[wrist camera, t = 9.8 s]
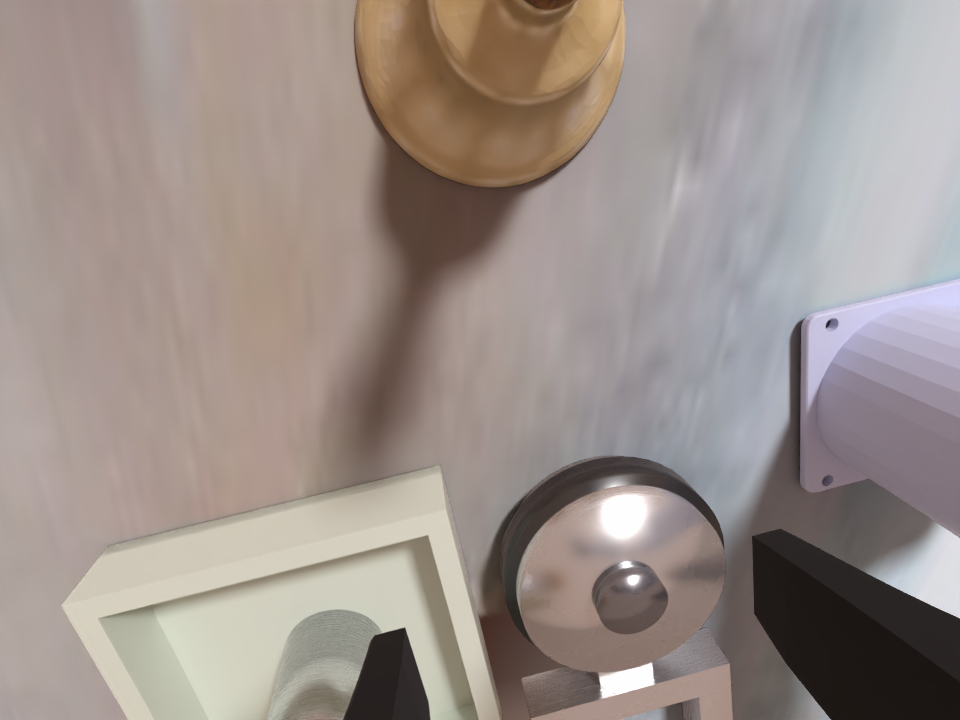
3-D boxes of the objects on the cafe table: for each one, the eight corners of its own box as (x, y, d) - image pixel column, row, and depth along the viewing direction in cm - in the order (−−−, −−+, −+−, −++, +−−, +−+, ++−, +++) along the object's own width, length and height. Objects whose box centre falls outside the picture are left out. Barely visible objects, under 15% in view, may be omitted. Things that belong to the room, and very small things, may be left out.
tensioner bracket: (692, 423, 22) (748, 471, 19) (714, 756, 29) (758, 838, 25) (474, 477, 22) (489, 537, 18) (549, 804, 28) (571, 895, 25)
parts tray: (440, 465, 21) (446, 509, 18) (498, 697, 25) (511, 762, 23) (108, 545, 20) (61, 605, 18) (226, 771, 25) (204, 849, 22)
